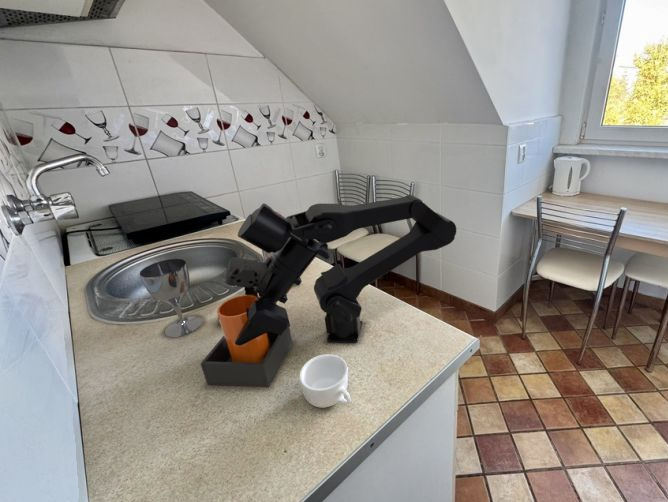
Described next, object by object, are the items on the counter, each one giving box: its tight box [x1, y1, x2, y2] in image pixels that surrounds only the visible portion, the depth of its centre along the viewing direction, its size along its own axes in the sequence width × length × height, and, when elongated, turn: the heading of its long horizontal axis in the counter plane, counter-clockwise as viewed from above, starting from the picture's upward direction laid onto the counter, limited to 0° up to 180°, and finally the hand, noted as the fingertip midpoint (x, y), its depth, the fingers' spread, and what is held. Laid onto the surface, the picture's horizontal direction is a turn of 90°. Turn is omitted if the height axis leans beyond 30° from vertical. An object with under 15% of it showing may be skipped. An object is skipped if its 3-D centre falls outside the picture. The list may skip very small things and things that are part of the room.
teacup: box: [299, 353, 352, 408], centre depth 53 cm, size 10×8×5 cm
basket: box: [200, 327, 293, 388], centre depth 61 cm, size 11×11×5 cm
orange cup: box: [216, 294, 271, 363], centre depth 59 cm, size 7×7×12 cm
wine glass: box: [139, 258, 203, 338], centre depth 69 cm, size 8×8×15 cm
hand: (236, 332), depth 58 cm, fingers closed on orange cup, 7 cm apart
